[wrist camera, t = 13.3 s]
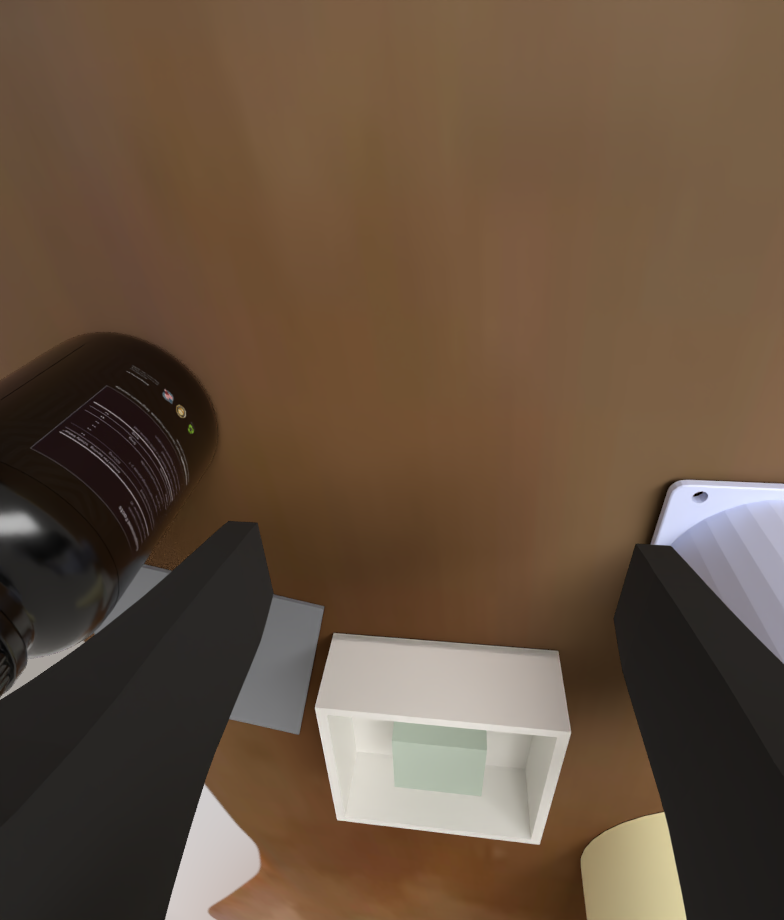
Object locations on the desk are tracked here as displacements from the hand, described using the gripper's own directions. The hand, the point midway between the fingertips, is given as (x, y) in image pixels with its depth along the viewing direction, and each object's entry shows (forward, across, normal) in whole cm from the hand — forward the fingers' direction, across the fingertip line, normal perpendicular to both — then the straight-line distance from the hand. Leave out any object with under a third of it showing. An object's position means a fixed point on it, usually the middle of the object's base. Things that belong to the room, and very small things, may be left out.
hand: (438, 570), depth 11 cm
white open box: (+9, 0, +20) cm, 22 cm away
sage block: (+9, 0, +20) cm, 22 cm away
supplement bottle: (+10, +12, +2) cm, 15 cm away
